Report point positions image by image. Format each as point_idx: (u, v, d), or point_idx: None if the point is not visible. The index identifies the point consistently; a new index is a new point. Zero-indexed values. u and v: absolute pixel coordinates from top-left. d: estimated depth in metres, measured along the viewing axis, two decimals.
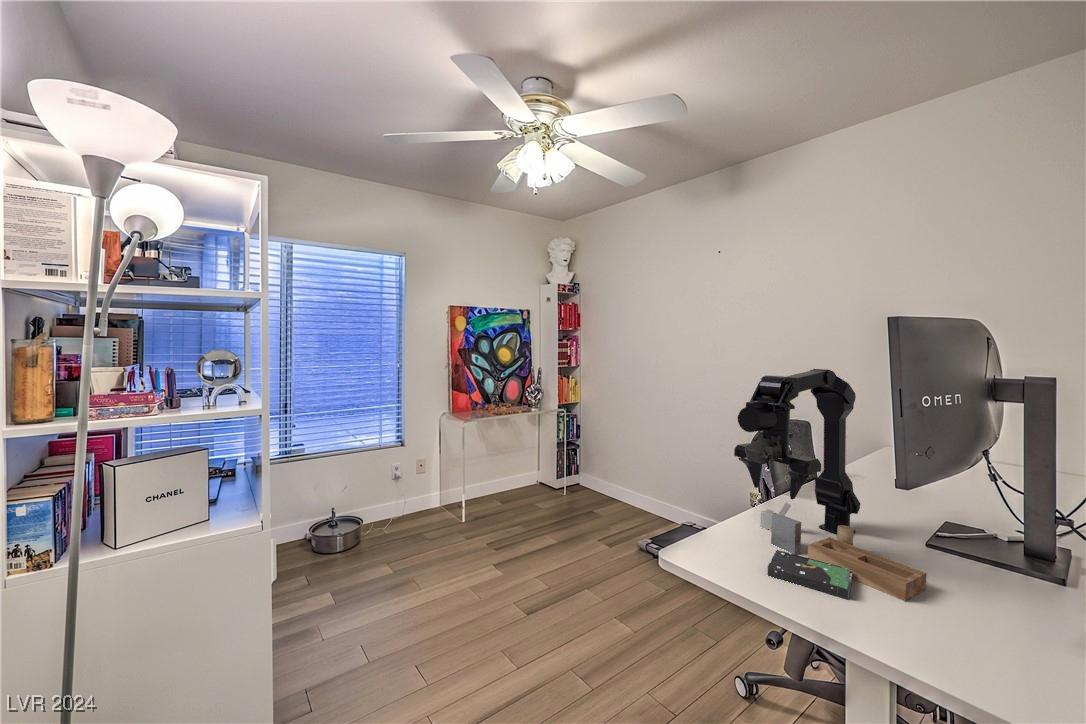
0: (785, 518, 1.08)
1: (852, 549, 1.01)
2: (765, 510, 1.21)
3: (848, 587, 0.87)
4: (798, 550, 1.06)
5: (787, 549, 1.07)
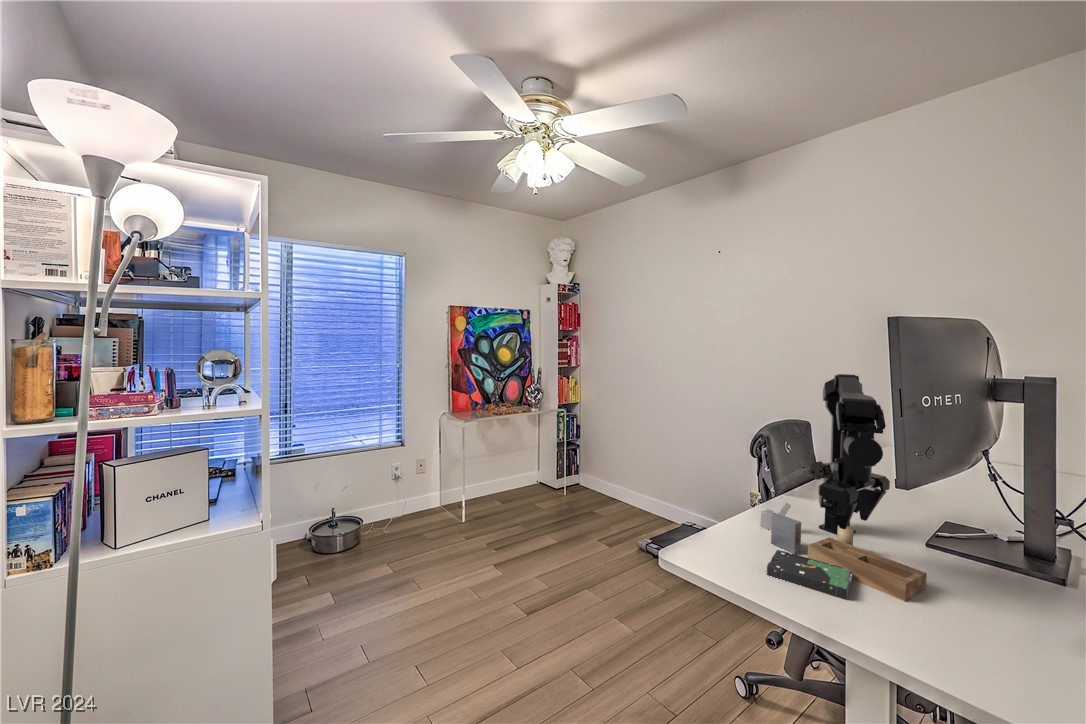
0: (785, 518, 1.08)
1: (852, 549, 1.01)
2: (765, 510, 1.21)
3: (847, 587, 0.87)
4: (798, 550, 1.06)
5: (787, 549, 1.07)
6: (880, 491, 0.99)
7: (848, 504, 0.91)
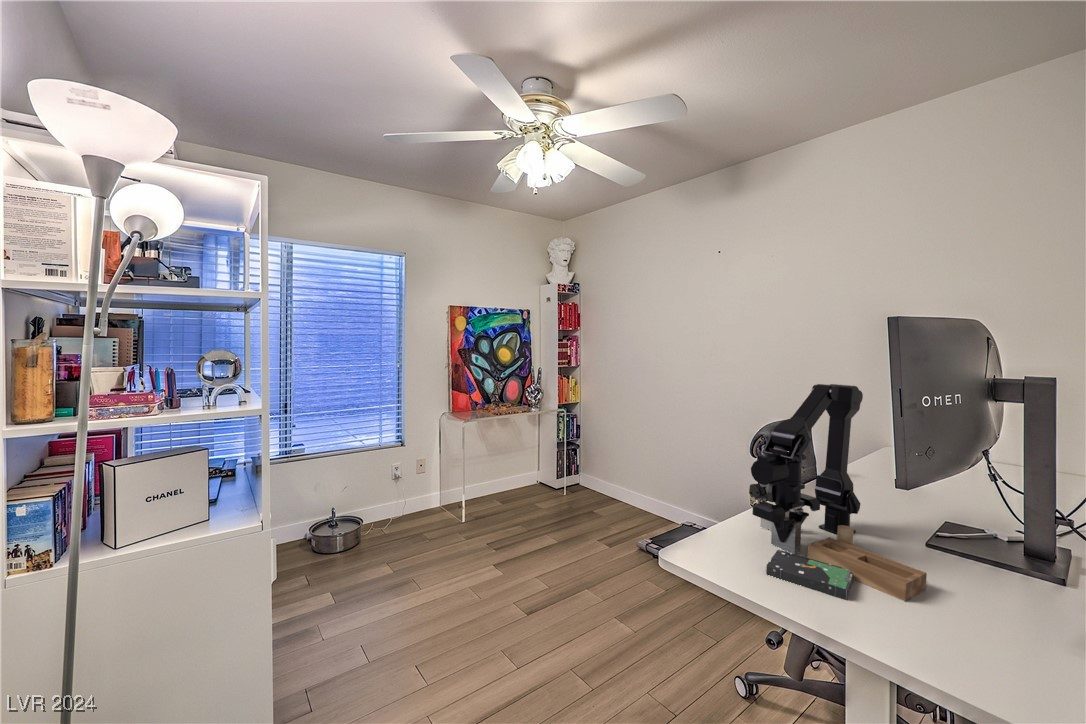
0: None
1: (852, 549, 1.01)
2: None
3: (846, 587, 0.87)
4: (798, 550, 1.06)
5: (787, 549, 1.07)
6: (803, 514, 1.08)
7: (784, 521, 1.04)
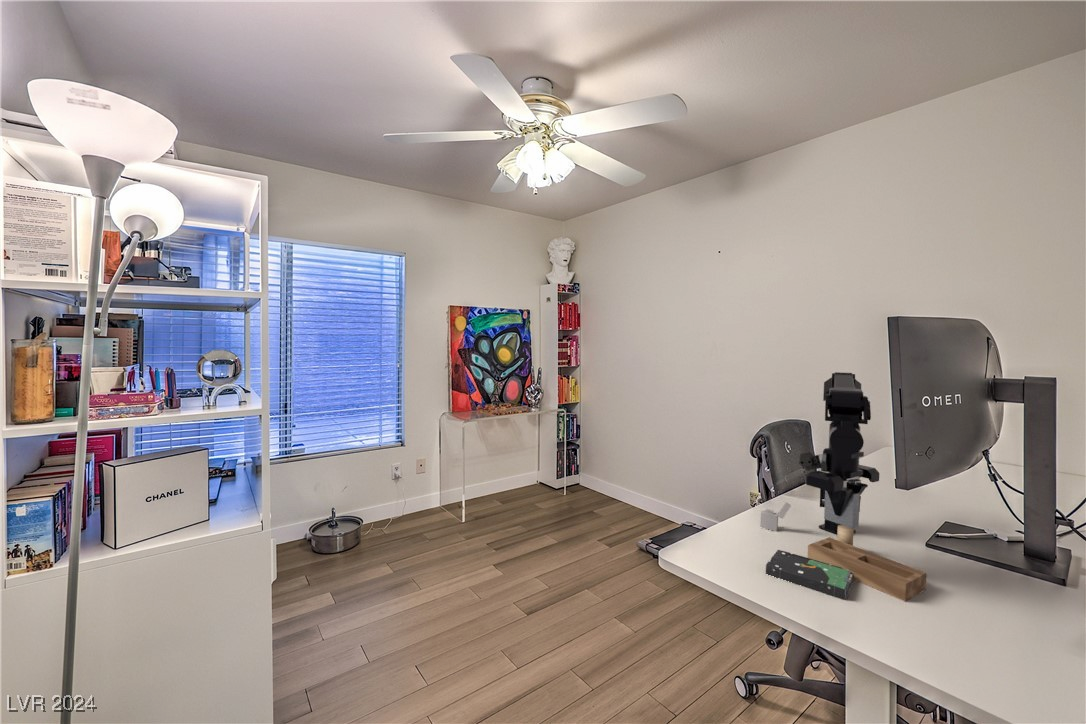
0: None
1: (852, 549, 1.01)
2: (765, 510, 1.21)
3: (845, 587, 0.87)
4: (856, 524, 0.97)
5: (844, 523, 0.97)
6: (861, 484, 0.98)
7: (842, 491, 0.94)
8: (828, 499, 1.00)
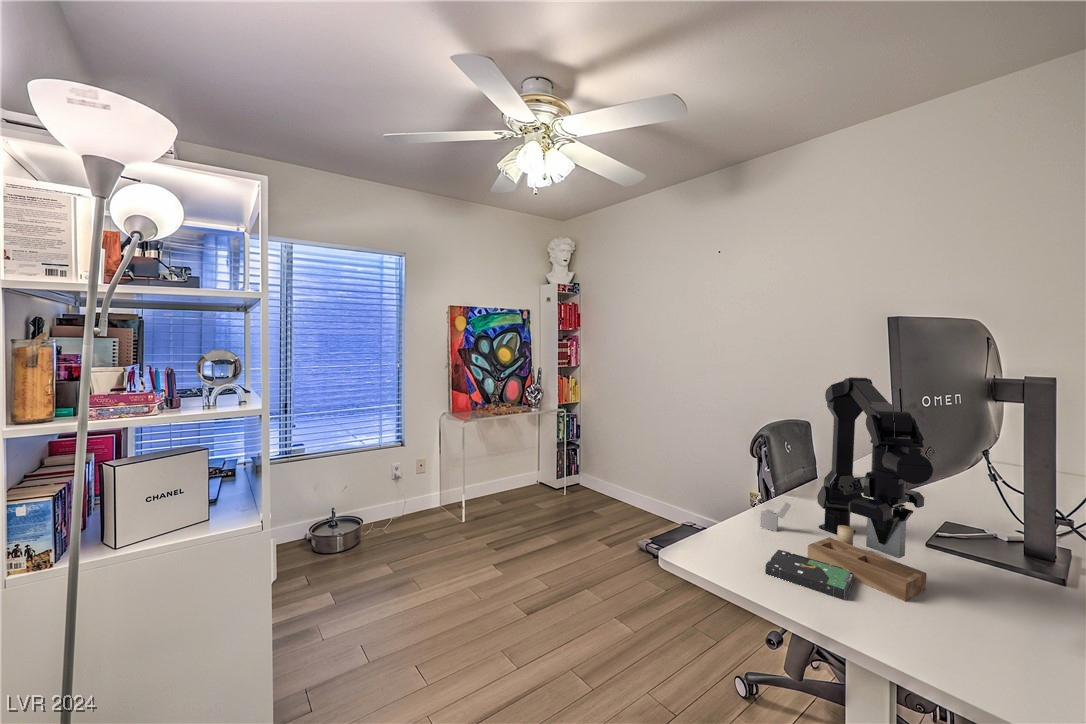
0: None
1: (852, 549, 1.01)
2: (765, 510, 1.21)
3: (845, 587, 0.87)
4: (903, 553, 0.91)
5: (889, 552, 0.91)
6: (907, 511, 0.92)
7: (889, 519, 0.88)
8: (871, 526, 0.94)
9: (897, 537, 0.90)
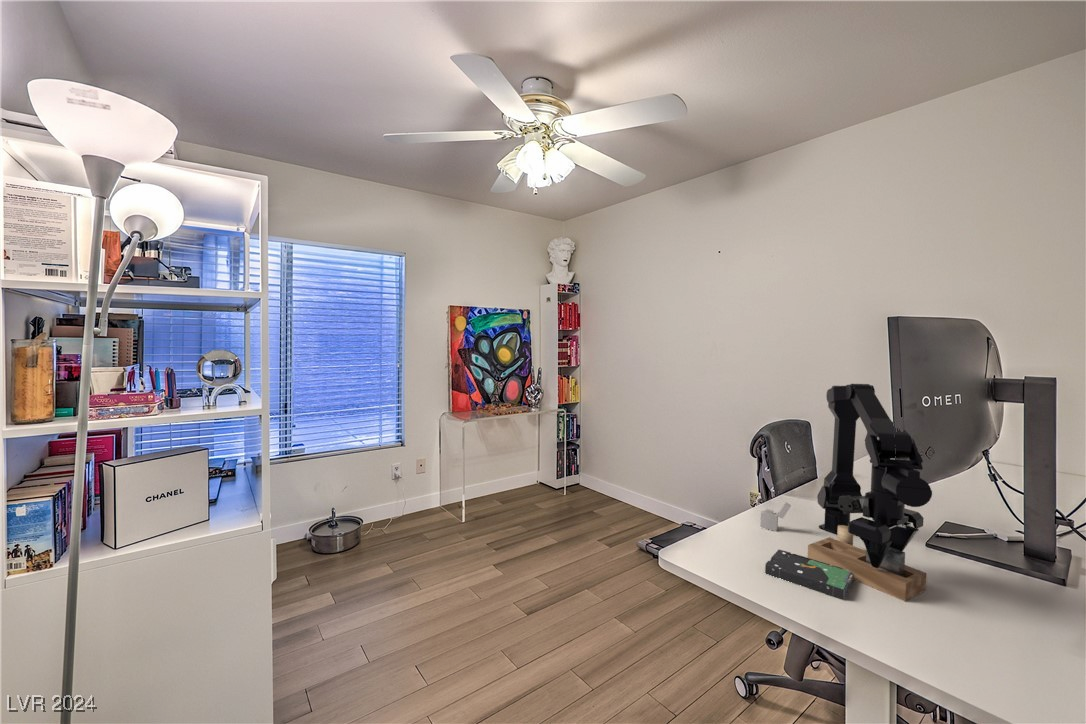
0: None
1: (852, 549, 1.01)
2: (765, 510, 1.21)
3: (844, 587, 0.87)
4: None
5: None
6: (912, 529, 0.94)
7: (882, 543, 0.87)
8: None
9: (896, 569, 0.90)
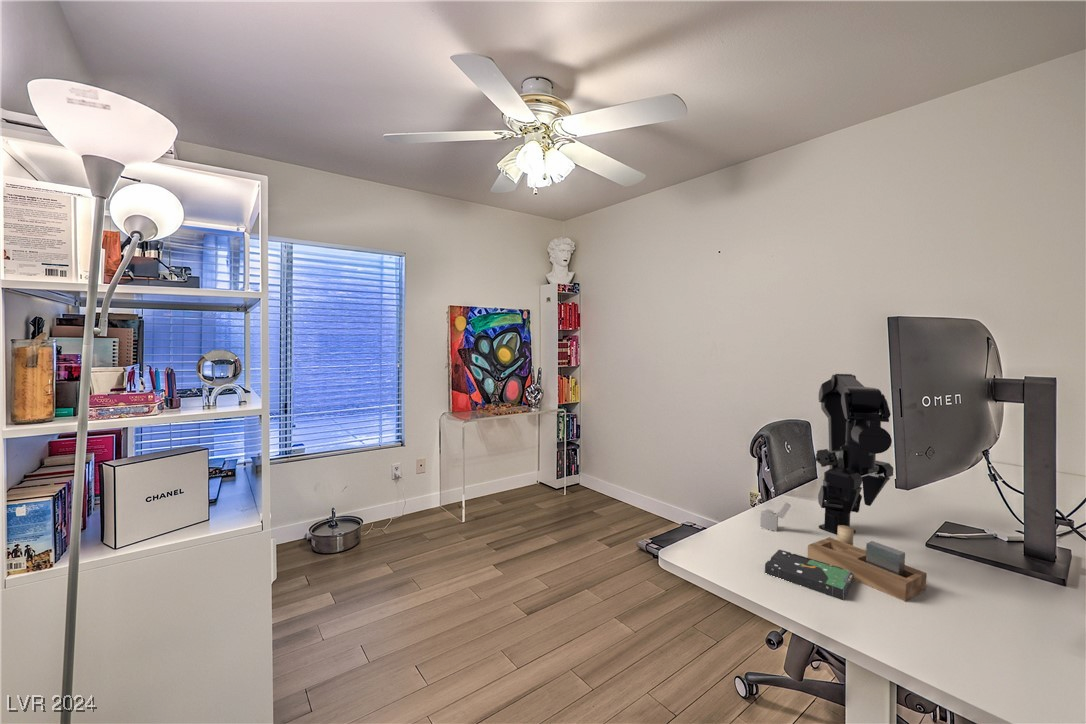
0: (884, 547, 0.93)
1: (852, 549, 1.01)
2: (765, 510, 1.21)
3: (844, 587, 0.87)
4: None
5: None
6: (884, 477, 1.03)
7: (852, 489, 0.95)
8: (870, 557, 0.95)
9: (896, 569, 0.90)
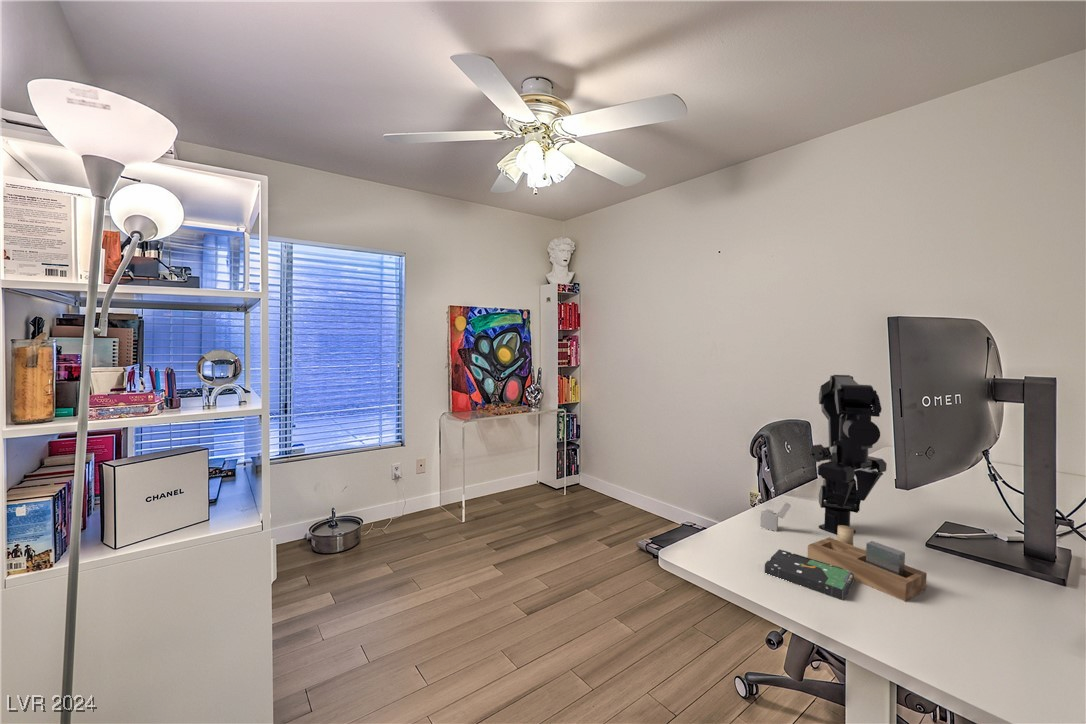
0: (884, 547, 0.93)
1: (852, 549, 1.01)
2: (765, 510, 1.21)
3: (843, 587, 0.87)
4: None
5: None
6: (877, 473, 1.05)
7: (845, 482, 0.98)
8: (870, 557, 0.95)
9: (896, 569, 0.90)
